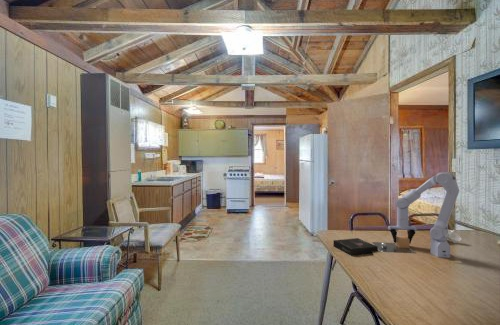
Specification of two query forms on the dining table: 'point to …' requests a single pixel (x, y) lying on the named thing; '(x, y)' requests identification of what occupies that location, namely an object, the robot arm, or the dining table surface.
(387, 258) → the dining table surface
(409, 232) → the robot arm
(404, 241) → the tan wooden block
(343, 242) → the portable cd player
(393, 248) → the base plate
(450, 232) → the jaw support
